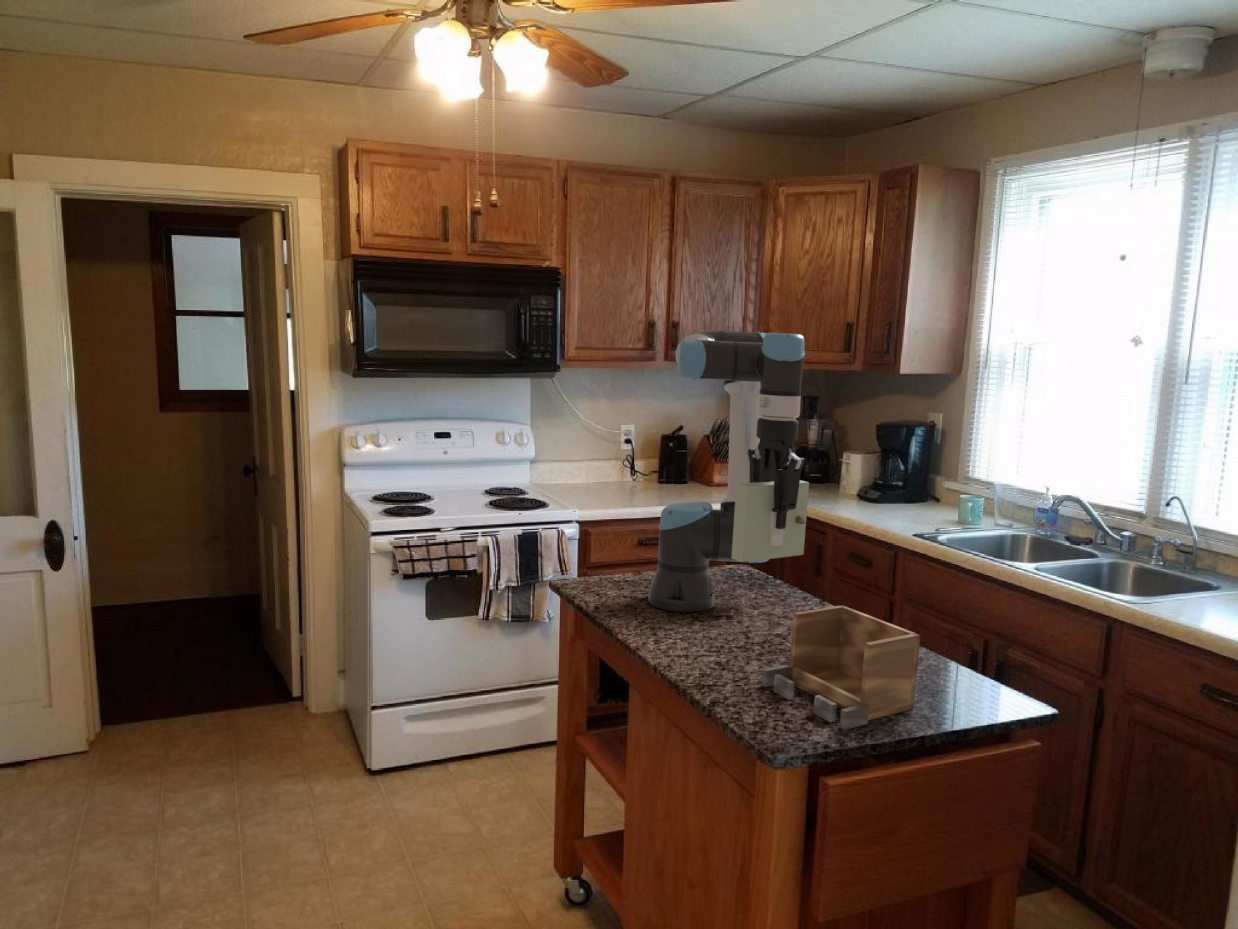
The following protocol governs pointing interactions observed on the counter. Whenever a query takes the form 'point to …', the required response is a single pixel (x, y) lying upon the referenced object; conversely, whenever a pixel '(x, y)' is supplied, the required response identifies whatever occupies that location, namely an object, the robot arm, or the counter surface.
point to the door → (766, 523)
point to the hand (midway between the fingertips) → (769, 542)
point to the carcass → (849, 665)
